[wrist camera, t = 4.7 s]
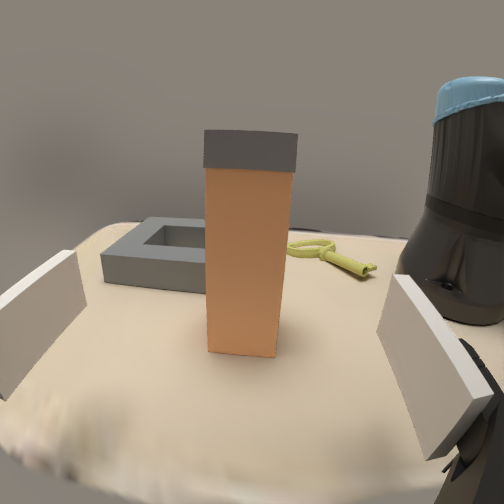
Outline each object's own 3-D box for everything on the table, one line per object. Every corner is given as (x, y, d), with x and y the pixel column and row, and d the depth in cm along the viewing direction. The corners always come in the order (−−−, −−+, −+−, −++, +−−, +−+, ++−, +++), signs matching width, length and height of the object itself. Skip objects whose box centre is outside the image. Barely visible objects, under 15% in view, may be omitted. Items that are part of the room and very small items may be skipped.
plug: (276, 319, 24) (292, 134, 19) (276, 358, 19) (297, 133, 14) (217, 314, 24) (220, 130, 19) (206, 352, 20) (204, 129, 14)
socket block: (246, 244, 39) (247, 222, 38) (233, 296, 27) (234, 265, 26) (150, 238, 40) (149, 216, 38) (104, 281, 28) (100, 253, 26)
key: (364, 288, 30) (368, 269, 29) (276, 253, 38) (277, 237, 37) (387, 268, 35) (391, 252, 34) (308, 241, 43) (310, 227, 42)
